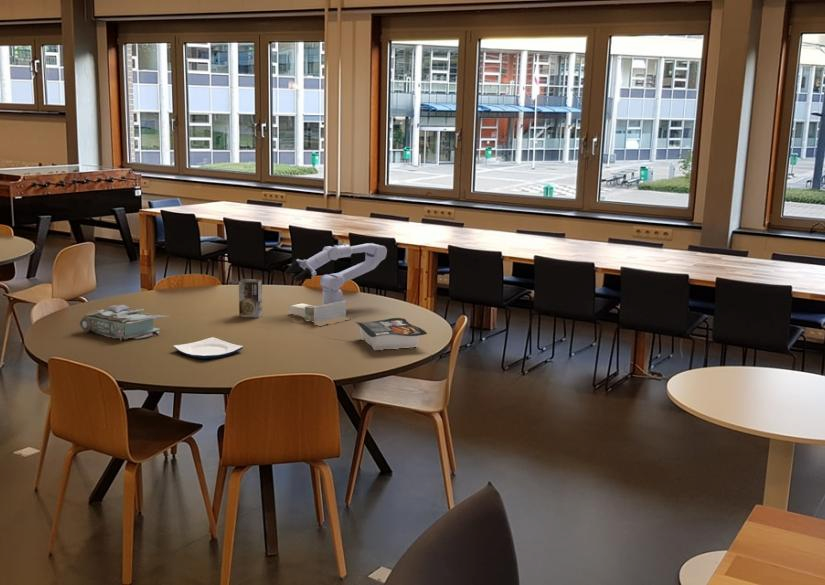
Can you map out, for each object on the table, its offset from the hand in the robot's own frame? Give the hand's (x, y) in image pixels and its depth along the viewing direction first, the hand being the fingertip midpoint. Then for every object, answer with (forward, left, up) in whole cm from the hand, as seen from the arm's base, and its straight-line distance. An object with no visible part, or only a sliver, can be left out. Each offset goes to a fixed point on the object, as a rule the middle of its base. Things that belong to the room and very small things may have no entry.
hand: (290, 276), depth 378 cm
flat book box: (-3, +6, -17) cm, 19 cm away
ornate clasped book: (+72, -20, -18) cm, 77 cm away
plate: (+65, +25, -18) cm, 72 cm away
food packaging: (+6, +64, -18) cm, 67 cm away
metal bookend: (-3, +24, -17) cm, 30 cm away
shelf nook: (-3, +18, -17) cm, 25 cm away
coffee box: (+16, -9, -17) cm, 25 cm away
